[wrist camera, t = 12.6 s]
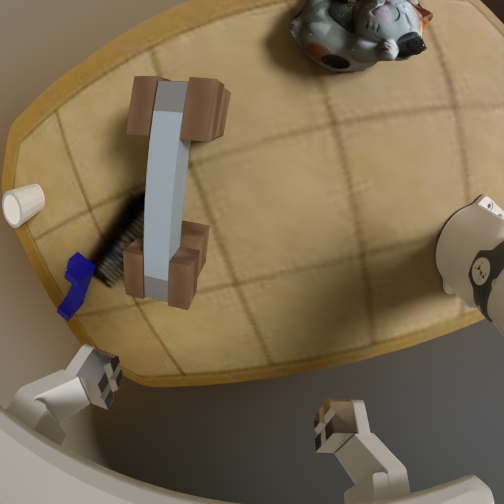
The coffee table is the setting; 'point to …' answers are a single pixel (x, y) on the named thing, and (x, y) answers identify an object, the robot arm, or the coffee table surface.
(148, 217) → the bed rail
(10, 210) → the shot glass
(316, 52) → the lucky cat figurine
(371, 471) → the robot arm
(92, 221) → the coffee table surface
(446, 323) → the coffee table surface
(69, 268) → the cable clip
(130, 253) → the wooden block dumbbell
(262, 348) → the coffee table surface
